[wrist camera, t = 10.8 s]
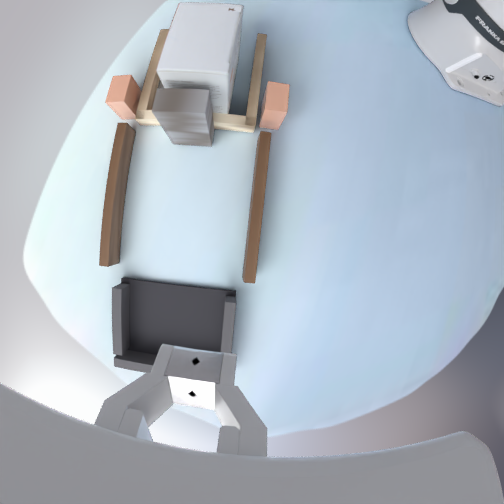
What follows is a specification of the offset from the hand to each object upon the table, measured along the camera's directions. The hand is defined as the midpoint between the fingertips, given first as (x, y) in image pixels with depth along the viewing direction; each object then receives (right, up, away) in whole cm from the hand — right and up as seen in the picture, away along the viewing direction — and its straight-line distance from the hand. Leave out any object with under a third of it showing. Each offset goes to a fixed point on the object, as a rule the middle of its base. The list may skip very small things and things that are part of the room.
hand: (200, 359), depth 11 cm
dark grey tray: (-6, -3, +18) cm, 19 cm away
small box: (-3, +22, +17) cm, 28 cm away
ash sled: (-3, +23, +16) cm, 28 cm away
